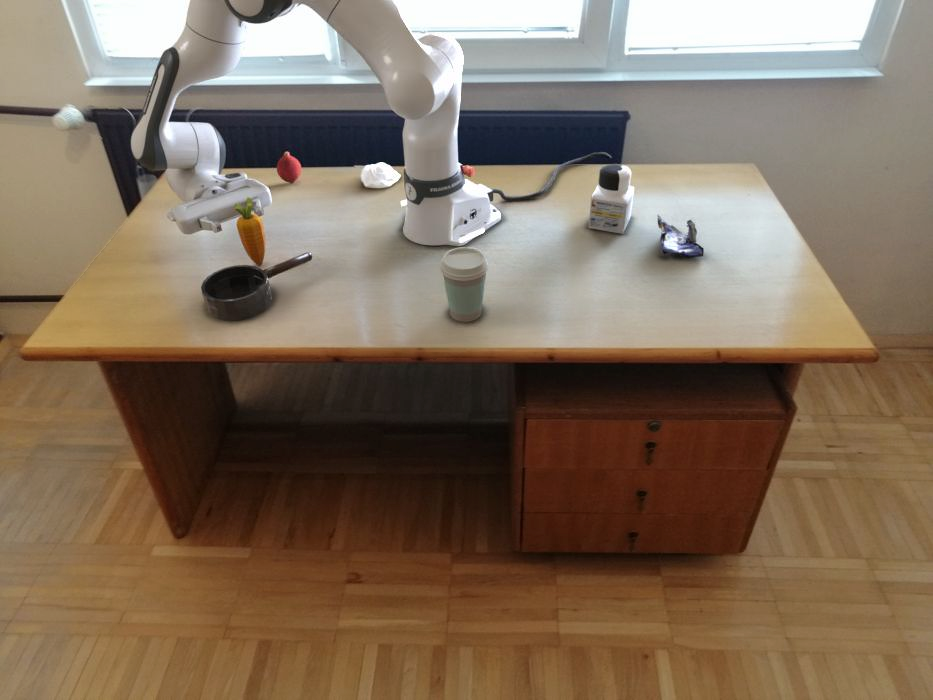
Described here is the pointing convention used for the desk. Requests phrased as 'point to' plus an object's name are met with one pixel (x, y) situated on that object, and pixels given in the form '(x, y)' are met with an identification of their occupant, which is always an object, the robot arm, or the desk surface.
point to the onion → (288, 168)
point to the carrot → (251, 233)
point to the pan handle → (288, 265)
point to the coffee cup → (464, 282)
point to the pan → (236, 292)
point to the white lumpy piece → (378, 175)
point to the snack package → (679, 240)
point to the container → (612, 199)
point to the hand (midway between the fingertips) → (239, 220)
